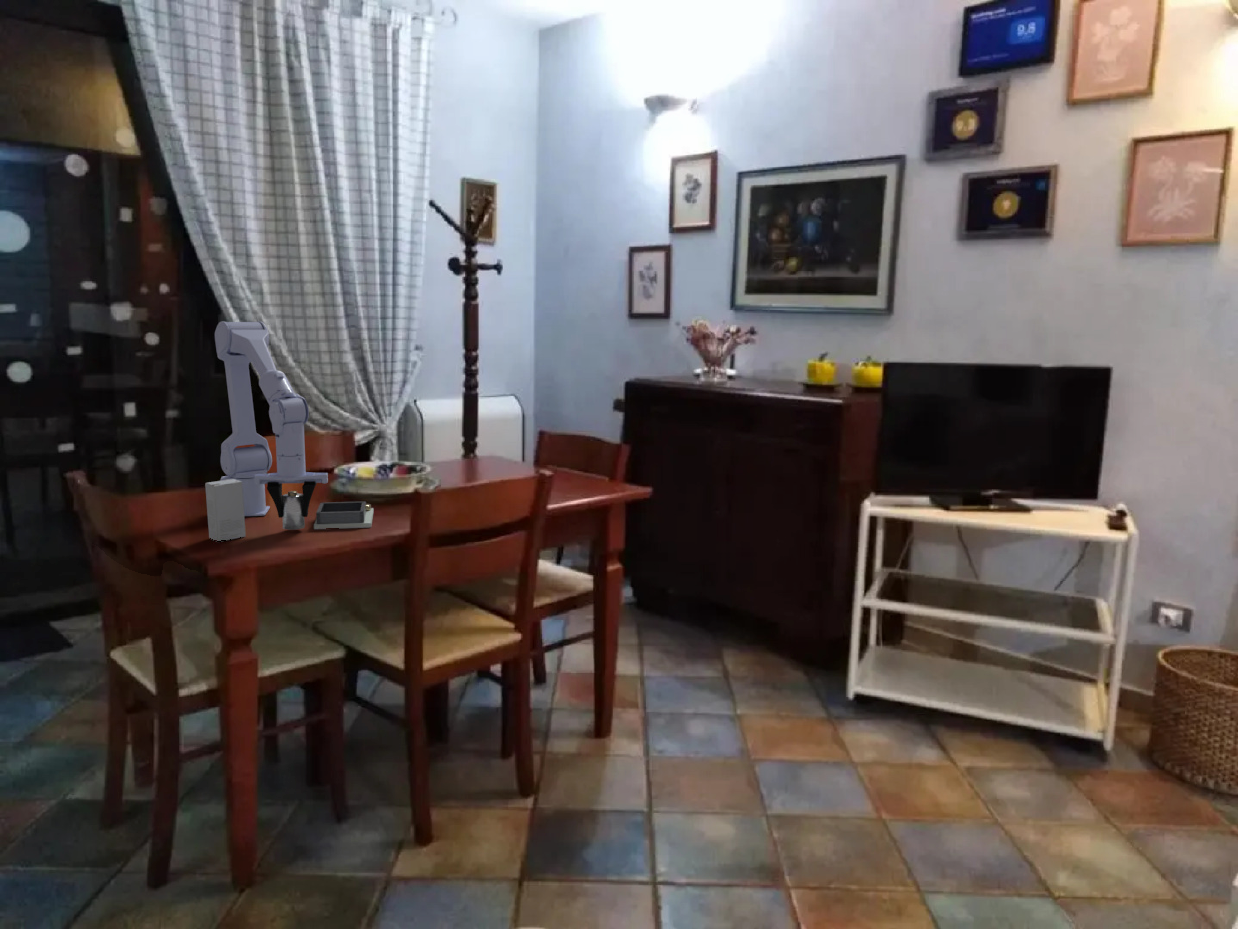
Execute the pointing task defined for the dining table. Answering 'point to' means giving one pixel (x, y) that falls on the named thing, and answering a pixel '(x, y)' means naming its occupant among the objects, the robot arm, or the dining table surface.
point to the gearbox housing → (344, 515)
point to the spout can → (292, 511)
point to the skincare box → (225, 509)
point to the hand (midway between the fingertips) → (293, 516)
